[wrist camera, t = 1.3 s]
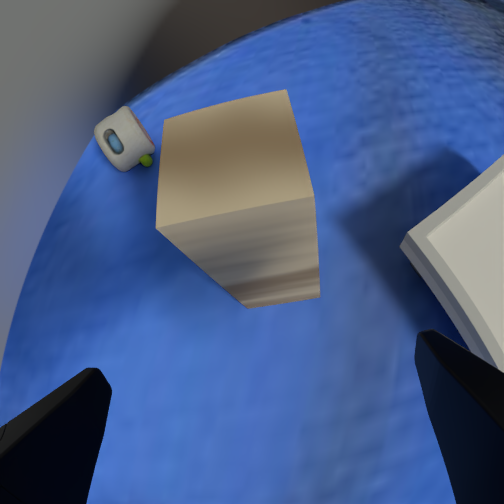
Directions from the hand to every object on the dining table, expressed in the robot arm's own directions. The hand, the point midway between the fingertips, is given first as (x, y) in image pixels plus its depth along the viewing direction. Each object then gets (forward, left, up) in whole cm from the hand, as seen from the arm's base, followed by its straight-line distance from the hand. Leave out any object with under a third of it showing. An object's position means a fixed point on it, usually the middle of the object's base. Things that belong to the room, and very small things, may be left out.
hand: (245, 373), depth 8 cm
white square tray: (-4, -16, -13) cm, 21 cm away
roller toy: (+25, +3, -13) cm, 28 cm away
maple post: (+7, -3, -13) cm, 15 cm away
